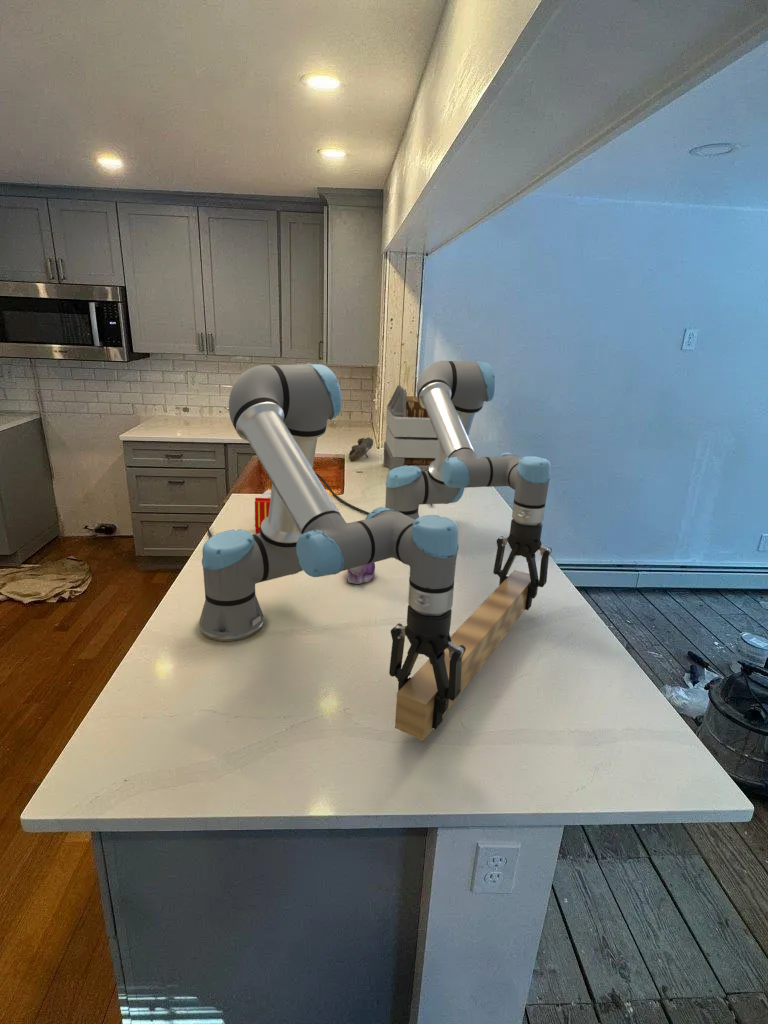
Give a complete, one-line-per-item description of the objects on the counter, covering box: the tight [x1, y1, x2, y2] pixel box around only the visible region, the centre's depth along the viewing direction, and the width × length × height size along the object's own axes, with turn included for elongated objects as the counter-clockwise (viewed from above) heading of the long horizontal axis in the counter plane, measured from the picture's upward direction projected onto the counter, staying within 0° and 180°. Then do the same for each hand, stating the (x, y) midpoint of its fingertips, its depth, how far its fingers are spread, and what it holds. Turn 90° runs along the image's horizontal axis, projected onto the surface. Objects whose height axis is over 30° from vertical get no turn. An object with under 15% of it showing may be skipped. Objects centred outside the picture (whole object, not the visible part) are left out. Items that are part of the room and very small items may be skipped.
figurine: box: [346, 562, 376, 585], centre depth 163 cm, size 9×10×15 cm
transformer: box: [383, 384, 439, 471], centre depth 268 cm, size 34×33×41 cm
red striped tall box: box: [254, 489, 272, 534], centre depth 202 cm, size 12×13×30 cm
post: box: [394, 569, 531, 742], centre depth 124 cm, size 62×6×8 cm, turn 149°
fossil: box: [348, 436, 374, 462], centre depth 297 cm, size 22×10×15 cm
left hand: (421, 717), depth 104 cm, fingers closed on post, 6 cm apart
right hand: (515, 603), depth 147 cm, fingers closed on post, 6 cm apart
